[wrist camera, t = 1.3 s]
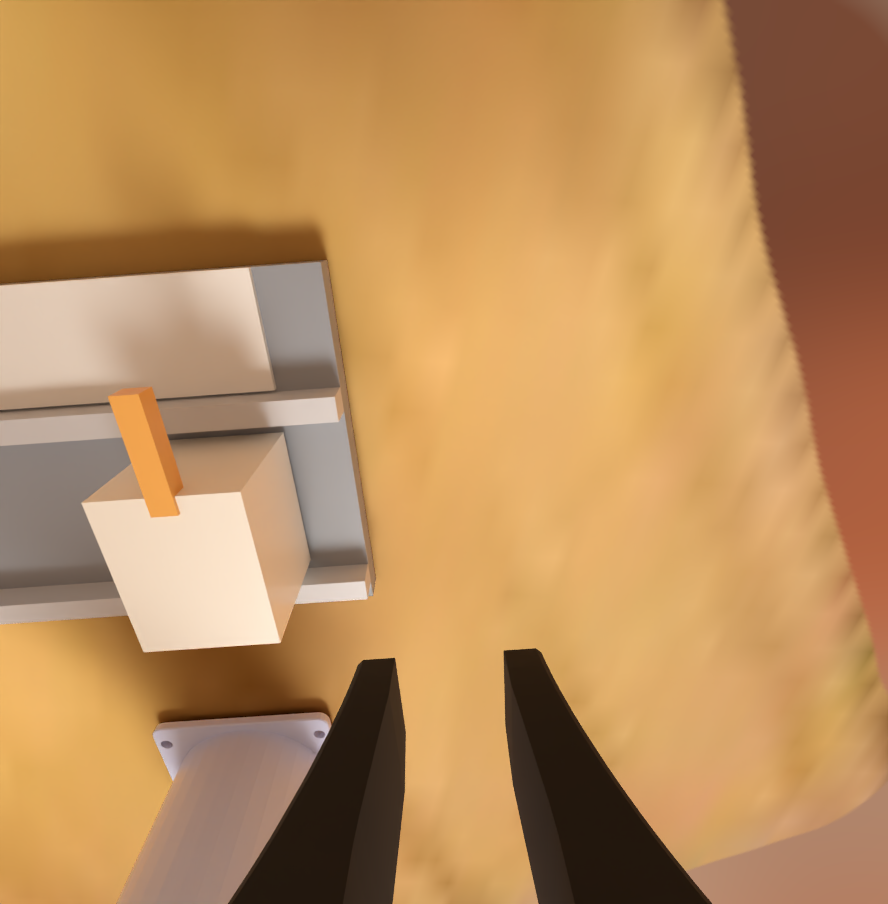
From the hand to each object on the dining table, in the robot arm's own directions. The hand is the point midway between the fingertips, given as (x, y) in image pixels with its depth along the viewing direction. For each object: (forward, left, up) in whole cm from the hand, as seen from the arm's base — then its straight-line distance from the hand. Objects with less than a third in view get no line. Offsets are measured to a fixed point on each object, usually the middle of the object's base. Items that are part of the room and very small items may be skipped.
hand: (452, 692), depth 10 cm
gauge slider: (+1, +7, -8) cm, 11 cm away
